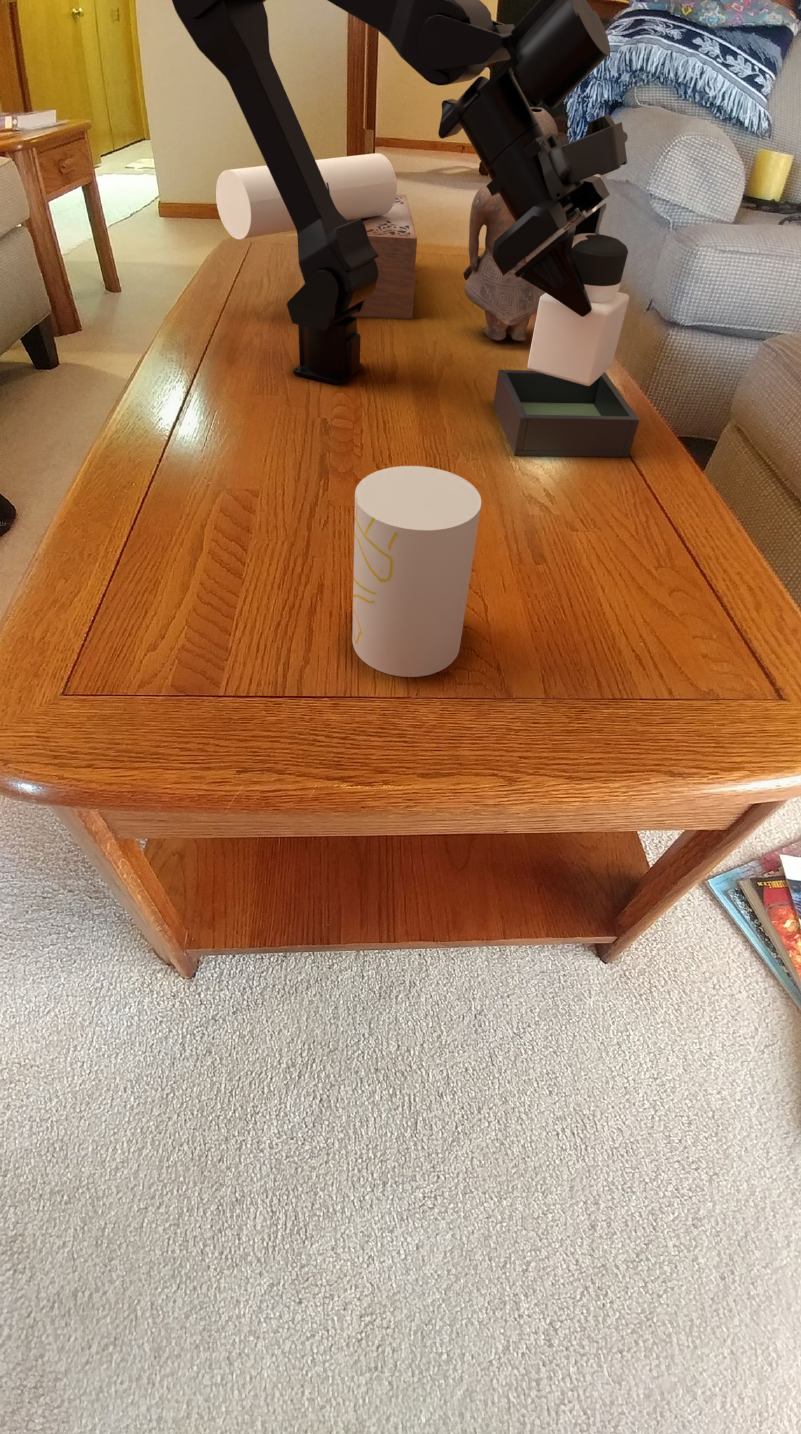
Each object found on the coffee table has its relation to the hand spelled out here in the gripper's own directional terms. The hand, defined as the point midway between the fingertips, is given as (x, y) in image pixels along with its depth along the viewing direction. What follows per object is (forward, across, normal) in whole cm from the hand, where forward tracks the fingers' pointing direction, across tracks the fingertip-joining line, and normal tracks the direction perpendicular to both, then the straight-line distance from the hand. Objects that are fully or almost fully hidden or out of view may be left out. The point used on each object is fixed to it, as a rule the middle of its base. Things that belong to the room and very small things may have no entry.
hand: (597, 303), depth 75 cm
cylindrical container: (-34, +8, +35) cm, 49 cm away
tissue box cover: (-20, +32, +40) cm, 55 cm away
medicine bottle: (+4, 0, +6) cm, 7 cm away
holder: (+9, 0, +10) cm, 13 cm away
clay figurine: (-2, +24, +21) cm, 33 cm away
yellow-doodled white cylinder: (+9, -42, +10) cm, 44 cm away
